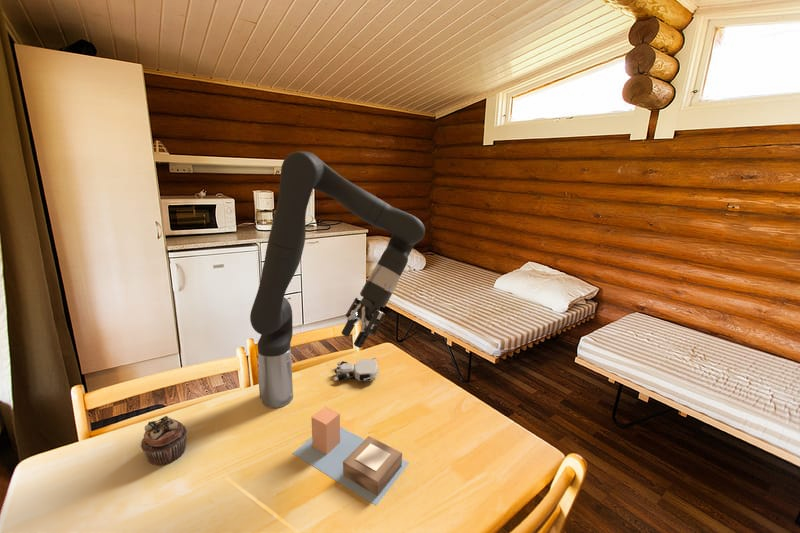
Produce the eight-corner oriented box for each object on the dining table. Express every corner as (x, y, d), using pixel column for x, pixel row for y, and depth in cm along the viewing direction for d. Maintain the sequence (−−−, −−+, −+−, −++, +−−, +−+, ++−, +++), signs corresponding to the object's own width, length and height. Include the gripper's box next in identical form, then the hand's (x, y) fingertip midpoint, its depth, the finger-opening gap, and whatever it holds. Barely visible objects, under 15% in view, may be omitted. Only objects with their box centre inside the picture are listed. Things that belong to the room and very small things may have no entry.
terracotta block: (312, 446, 94) (311, 416, 91) (325, 434, 98) (325, 406, 95) (326, 454, 91) (326, 424, 89) (340, 442, 95) (339, 413, 93)
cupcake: (197, 448, 92) (193, 414, 90) (158, 475, 84) (151, 439, 81) (175, 434, 97) (170, 402, 94) (135, 458, 88) (128, 424, 86)
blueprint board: (292, 455, 91) (292, 453, 91) (330, 423, 103) (330, 421, 103) (376, 507, 78) (376, 505, 78) (409, 464, 90) (409, 462, 90)
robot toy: (332, 388, 120) (377, 386, 121) (331, 376, 119) (377, 374, 119) (338, 368, 132) (379, 366, 132) (336, 357, 131) (378, 355, 131)
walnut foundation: (343, 475, 85) (343, 460, 84) (368, 448, 93) (368, 435, 92) (377, 496, 80) (378, 481, 79) (401, 466, 88) (402, 452, 87)
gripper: (358, 274, 100) (329, 327, 98) (382, 285, 87) (349, 345, 86) (379, 286, 103) (351, 337, 102) (404, 297, 91) (373, 355, 89)
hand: (350, 340), depth 94 cm, fingers open, 8 cm apart
